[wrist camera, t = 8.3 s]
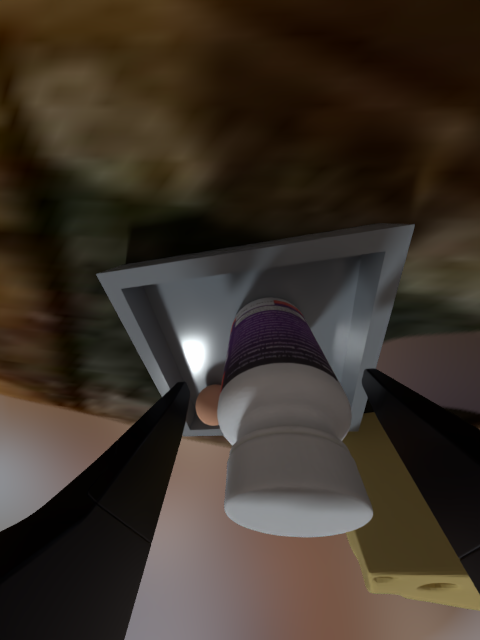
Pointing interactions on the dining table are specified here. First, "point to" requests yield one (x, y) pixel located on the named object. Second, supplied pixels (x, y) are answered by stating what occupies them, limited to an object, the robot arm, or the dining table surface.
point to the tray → (255, 283)
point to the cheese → (402, 529)
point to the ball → (208, 404)
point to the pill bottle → (286, 429)
